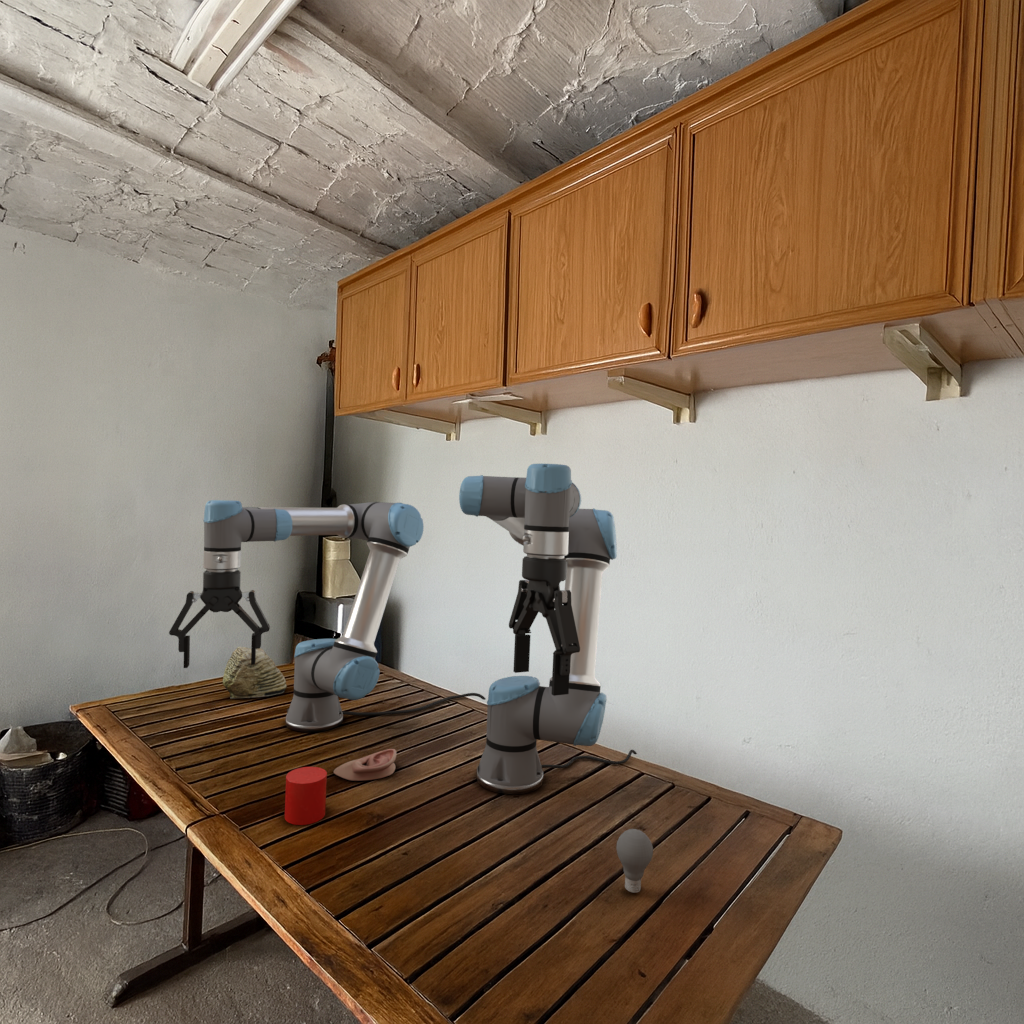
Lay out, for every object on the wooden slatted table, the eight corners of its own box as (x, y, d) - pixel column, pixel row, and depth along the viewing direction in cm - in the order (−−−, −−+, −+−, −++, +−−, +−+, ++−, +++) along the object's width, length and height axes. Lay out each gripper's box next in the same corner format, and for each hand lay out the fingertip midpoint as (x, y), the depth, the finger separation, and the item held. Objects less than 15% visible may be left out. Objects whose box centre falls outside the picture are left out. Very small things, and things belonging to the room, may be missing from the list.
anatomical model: (327, 759, 142) (350, 741, 154) (326, 777, 143) (349, 757, 154) (382, 767, 140) (402, 748, 151) (382, 785, 140) (401, 764, 151)
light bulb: (610, 879, 108) (613, 822, 108) (644, 879, 109) (647, 822, 109) (619, 902, 102) (622, 840, 102) (655, 901, 103) (658, 840, 103)
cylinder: (294, 829, 120) (296, 787, 120) (278, 813, 126) (279, 773, 126) (332, 816, 126) (333, 776, 126) (314, 802, 131) (316, 763, 131)
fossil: (218, 695, 195) (220, 647, 195) (278, 685, 208) (279, 640, 207) (228, 703, 189) (230, 653, 188) (289, 692, 201) (290, 645, 201)
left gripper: (155, 572, 133) (153, 672, 133) (281, 571, 141) (279, 666, 141) (162, 568, 140) (160, 663, 141) (282, 567, 148) (280, 657, 149)
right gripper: (493, 549, 115) (488, 665, 116) (564, 564, 93) (557, 707, 93) (530, 549, 119) (525, 662, 119) (606, 564, 96) (600, 702, 97)
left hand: (220, 664), depth 141 cm, fingers open, 13 cm apart
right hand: (539, 682), depth 106 cm, fingers open, 13 cm apart
